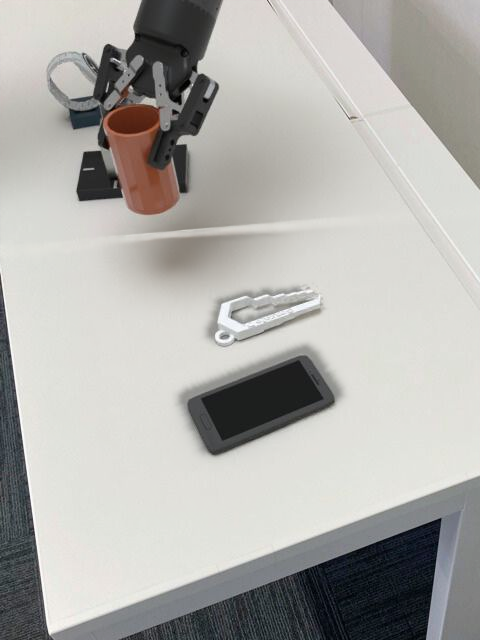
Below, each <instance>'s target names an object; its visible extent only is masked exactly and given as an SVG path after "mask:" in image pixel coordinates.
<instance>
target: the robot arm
mask: <svg viewBox="0 0 480 640" xmlns="http://www.w3.org/2000/svg"><path fill="white" fill-rule="evenodd" d="M223 3H224V0H140V4H139V7H138V10H137V13H136V16H135V19H134V22H133V24H132V25H133V26H132V28H133V33H134V39H133V42H132V43H131V44H130V46H129V47H127V49H124V48H118V47H117V46H115V45H112V44H111V43H106V44H105V45H104V46H103V49H102V54H101V57H100V62H99V65H98V66H99V70H98V74H97V79H96V83H95V85H94V88H93V93H92V96H93V97H94V99H95V100H97V101H99V102H100V105H102V106H103V108H104V114H103V116H102V117H103V120H102V123H101V126H100V125H99V127H100V130H99V129H98V132H97V146H98V147H99V148H100V147H102V148H104V149H107V150H110V149H109V145H108V142H107V138H106V135H105V131H104V128H103V122H104V118H105V117H106V116H107V115H108V114H109V113H110V112H111V111H113V110H115V109H117V108H119V107H122V106H126V105H130V104H142V102H144V100H145V98H148V99H155V105H156V108H158V109H159V112H160V127H161V129H162V131H160V130H158V131H157V134H156V136H155V139H154V142H153V145H152V148H151V151H150V154H149V157H148V160H147V164H148V165H149V166H151V167H154V168H157V169H159V170H164V169H165V166H168V165H169V163H170V161H171V159H172V156H173V153H174V150H175V147H176V145H178V144H177V143H178V141H179V139H180V138H181V137H183V136H192V137H196V136H198V135H199V133H200V131H201V129H202V126H203V125H204V123H205V120H206V118H207V115H208V114H209V111H210V110H211V107H212V105H213V103H214V101H215V99H216V96H217V94H218V92H219V89H220V85H219V83H218V82H217V81H215V80H214V79H212V78H210V77H209V76H208V75H206V74H205V73H199V72H198V65H199V61H202V60H203V59H204V57H205V56H206V52H207V49H208V46H209V44H210V40H211V38H212V34H213V32H214V29H215V26H216V23H217V20H218V18H219V14H220V11H221V10H222V5H223ZM188 89H189V93H188V96H187V97H186V99H185V92H186V90H188Z"/></svg>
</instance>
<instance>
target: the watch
mask: <svg viewBox="0 0 480 640" xmlns="http://www.w3.org/2000/svg"><path fill="white" fill-rule="evenodd" d="M71 62H73V64H74V65H75V66H76V67H77V68H78V70H79V71H80V73H82V75H83V76H84V77H85V79H87V81H89V82H90V83H91V84H92V85H94V86H95V83H96V79H97V74H98V70H99V66H100V65H98V63H97V61H95V60H94V59H93V58H92V57H91V56H90V55H89V54H87V53H86V52H78V51H65V52H61V53H58V54H57V55H55V56H54V57H53V58H52V59H51V60H50V62H48V65H47V68H46V82H47V88H48V91H49V92H50V93H51V95H52V96H53V98H54V99H55V100H56V101H57V102H58V103H59V104H61V105H62V106H63V107H64V108H66V109H68V114H69V119H70V120H69V121H70V123H71V126H72V130H74V131H75V130H80V129H85V128H90V127H91V128H92V127H96V126H100V120H101V118H103V117H104V116H103V111H102V108H101V103H100V102H99V101H97V100H95V99H94V97H93V95H88V96H81V97H75V98H69V96H68V95H66V94H65V93H64V92H63V91H62V90H61V89H60V88H59V87H58V86H57V84H56V83H55V82H54V81H53V79H52V77H51V75H52V73H53V72H54V70H55V69H56V68H57V67H58V66H60V65H62V64H63V63H64V64H65V63H71Z"/></svg>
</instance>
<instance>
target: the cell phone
mask: <svg viewBox="0 0 480 640" xmlns="http://www.w3.org/2000/svg"><path fill="white" fill-rule="evenodd" d="M335 398H336V397H335V395H334V393H333V391H332V390H331V387H329V385H328V384H327V382H326V380H325V378H323V376H322V374H321V373H320V371H319V369H318V368H317V367H316V365H315V364H314V362H313V361H312V359H311V358H310V357H309V356H308V355H306V354H303V355H302V354H301V355H297V356H295V357H291V358H289V359H287V360H284V361H282V362H279V363H276V364H274V365H272V366H269V367H266V368H264V369H261V370H258V371H256V372H253V373H251V374H248V375H246V376H244V377H241V378H238V379H236V380H233V381H231V382H228V383H226V384H223V385H220V386H217V387H215V388H213V389H210V390H208V391H205V392H202V393H200V394H198V395H195V396H192V397H191V398H189V399H188V401H187V409H188V412H189V413H190V414H189V415H190V416H191V418H192V420H193V422H194V424H195V426H196V428H197V430H198V432H199V434H200V437H201V439H202V440H203V442H204V444H205V447H206V449H207V450H208V451H209V452H210V453H211V454H213V455H214V454H219V453H220V454H221V453H222V452H224V451H228V450H229V449H232V448H234V447H236V446H239V445H242V444H244V443H246V442H248V441H251V440H253V439H256V438H258V437H261V436H263V435H265V434H268V433H270V432H273V431H275V430H277V429H280V428H283V427H284V426H287V425H289V424H292V423H294V422H297V421H299V420H301V419H303V418H306V417H309V416H310V415H313V414H316V413H318V412H321V411H323V410H326V409H327V408H329V407H331V406H332V405H333V404H334V403H335V400H336V399H335Z"/></svg>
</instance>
